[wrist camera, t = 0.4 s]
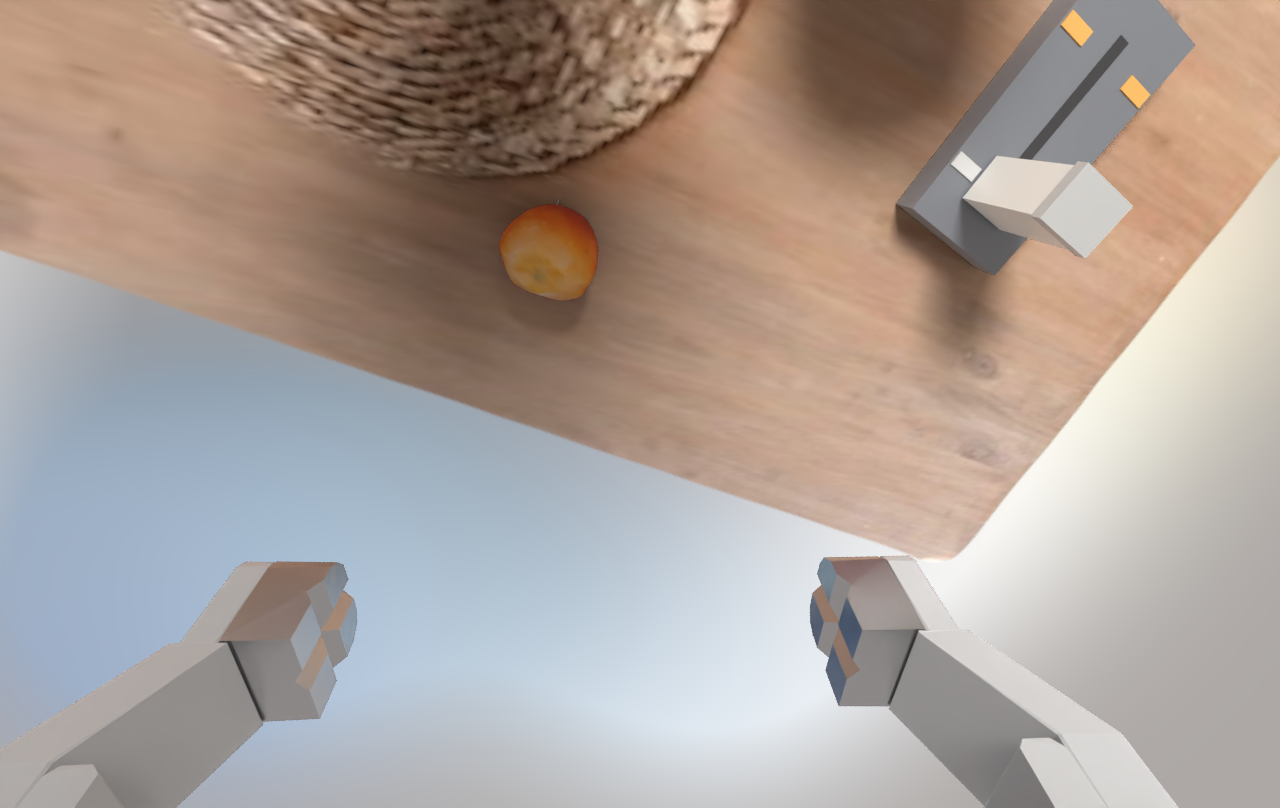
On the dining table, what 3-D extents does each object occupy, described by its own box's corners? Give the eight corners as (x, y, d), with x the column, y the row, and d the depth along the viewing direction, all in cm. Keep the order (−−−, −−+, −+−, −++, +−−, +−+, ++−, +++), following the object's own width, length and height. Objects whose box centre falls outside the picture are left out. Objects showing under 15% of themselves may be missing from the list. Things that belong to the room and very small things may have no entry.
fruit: (630, 221, 52) (605, 280, 47) (583, 272, 57) (556, 329, 52) (552, 159, 49) (517, 214, 44) (510, 219, 55) (475, 274, 50)
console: (974, 267, 58) (995, 275, 56) (895, 203, 55) (913, 208, 52) (1162, 48, 51) (1196, 45, 48) (1086, -42, 48) (1117, -51, 45)
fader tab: (999, 233, 54) (1085, 258, 45) (959, 198, 52) (1040, 218, 43) (1037, 189, 52) (1133, 206, 43) (997, 152, 50) (1088, 162, 42)
